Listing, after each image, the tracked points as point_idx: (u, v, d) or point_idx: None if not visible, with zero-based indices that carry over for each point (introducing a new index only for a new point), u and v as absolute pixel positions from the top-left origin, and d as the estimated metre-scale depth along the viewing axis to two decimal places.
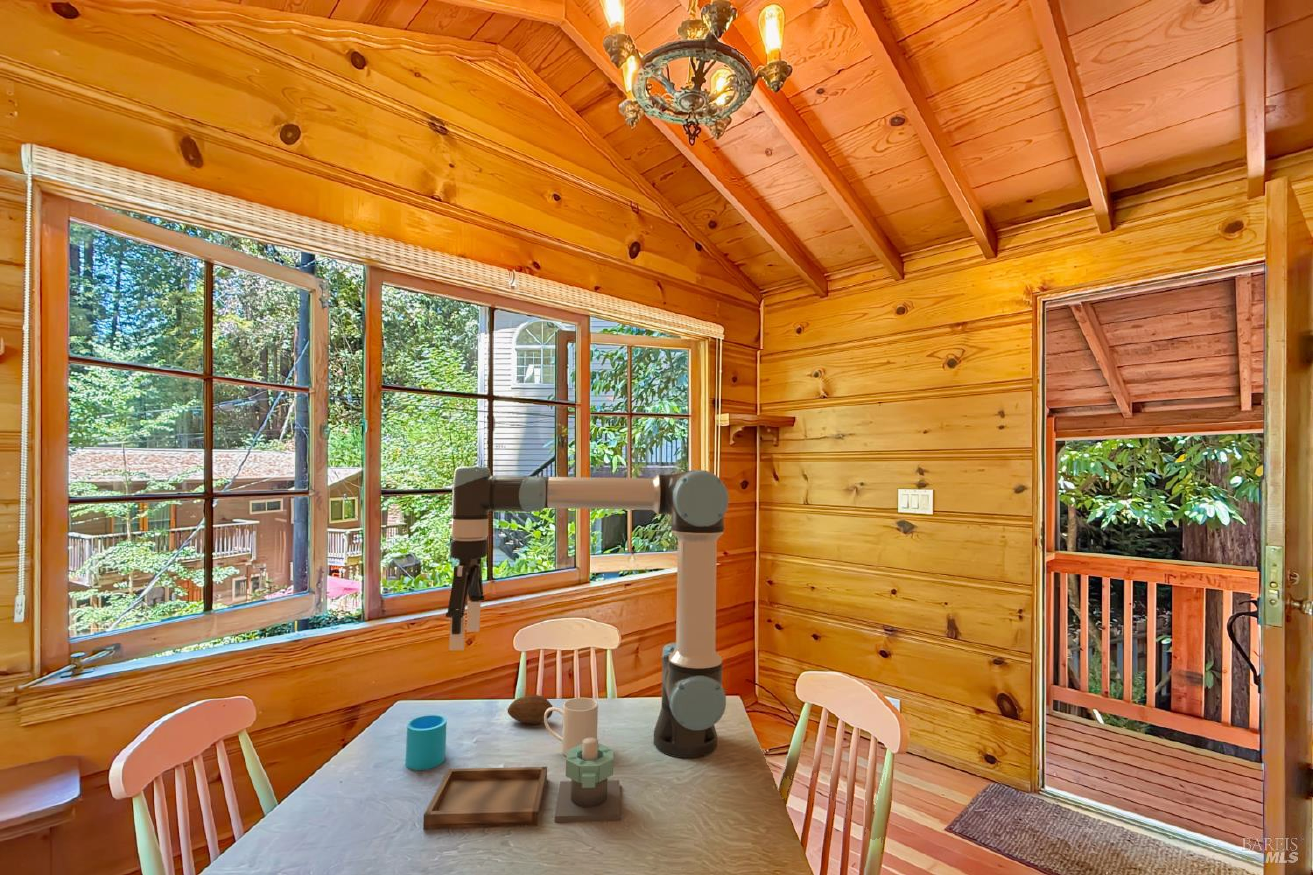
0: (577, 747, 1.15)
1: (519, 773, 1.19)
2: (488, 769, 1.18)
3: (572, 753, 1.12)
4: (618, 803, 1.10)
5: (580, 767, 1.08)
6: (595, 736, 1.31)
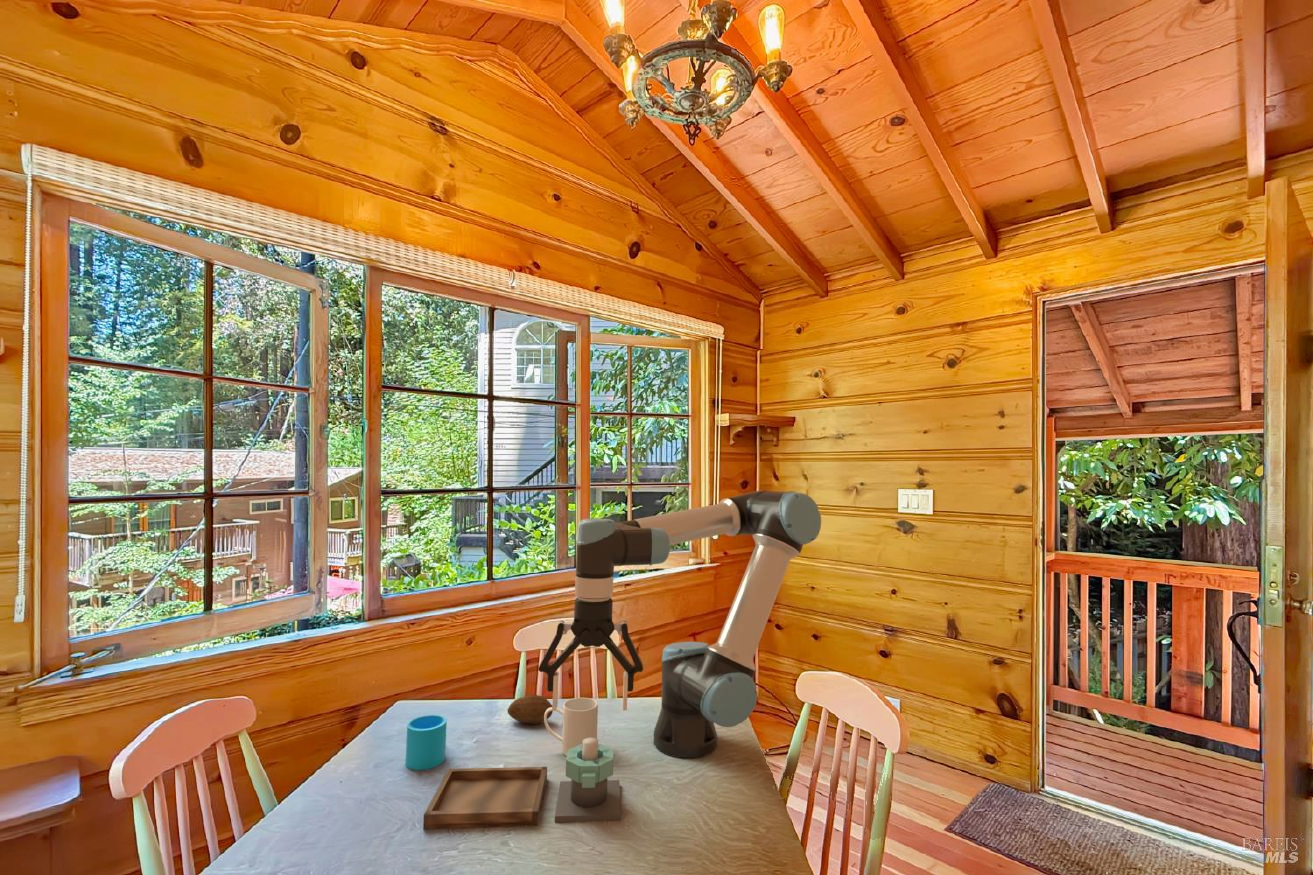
0: (577, 747, 1.15)
1: (519, 773, 1.19)
2: (488, 769, 1.18)
3: (572, 753, 1.12)
4: (618, 803, 1.10)
5: (580, 767, 1.08)
6: (595, 736, 1.31)
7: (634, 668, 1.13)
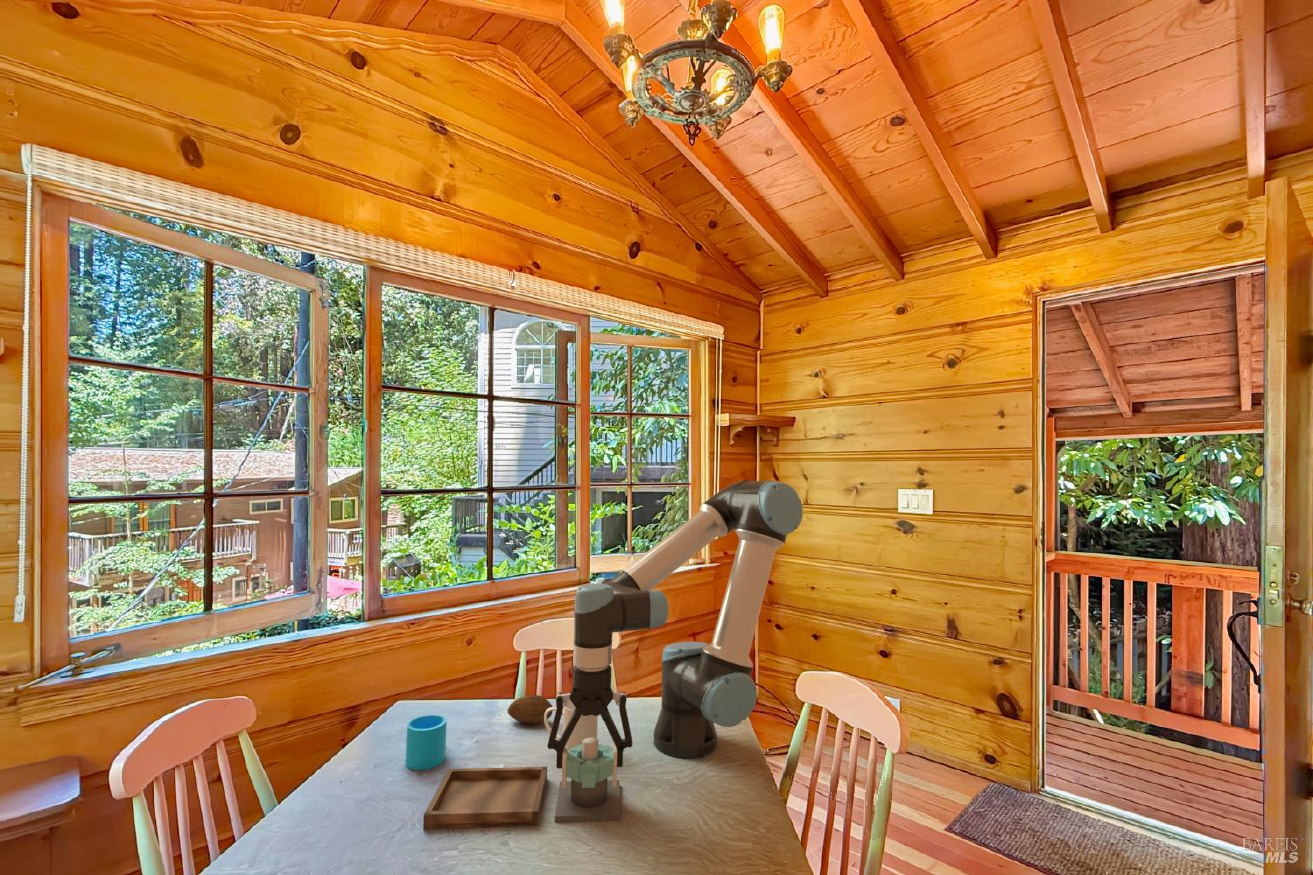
0: (577, 747, 1.15)
1: (519, 773, 1.19)
2: (488, 769, 1.18)
3: (572, 753, 1.12)
4: (618, 803, 1.10)
5: (580, 767, 1.08)
6: (595, 736, 1.31)
7: (623, 743, 1.12)
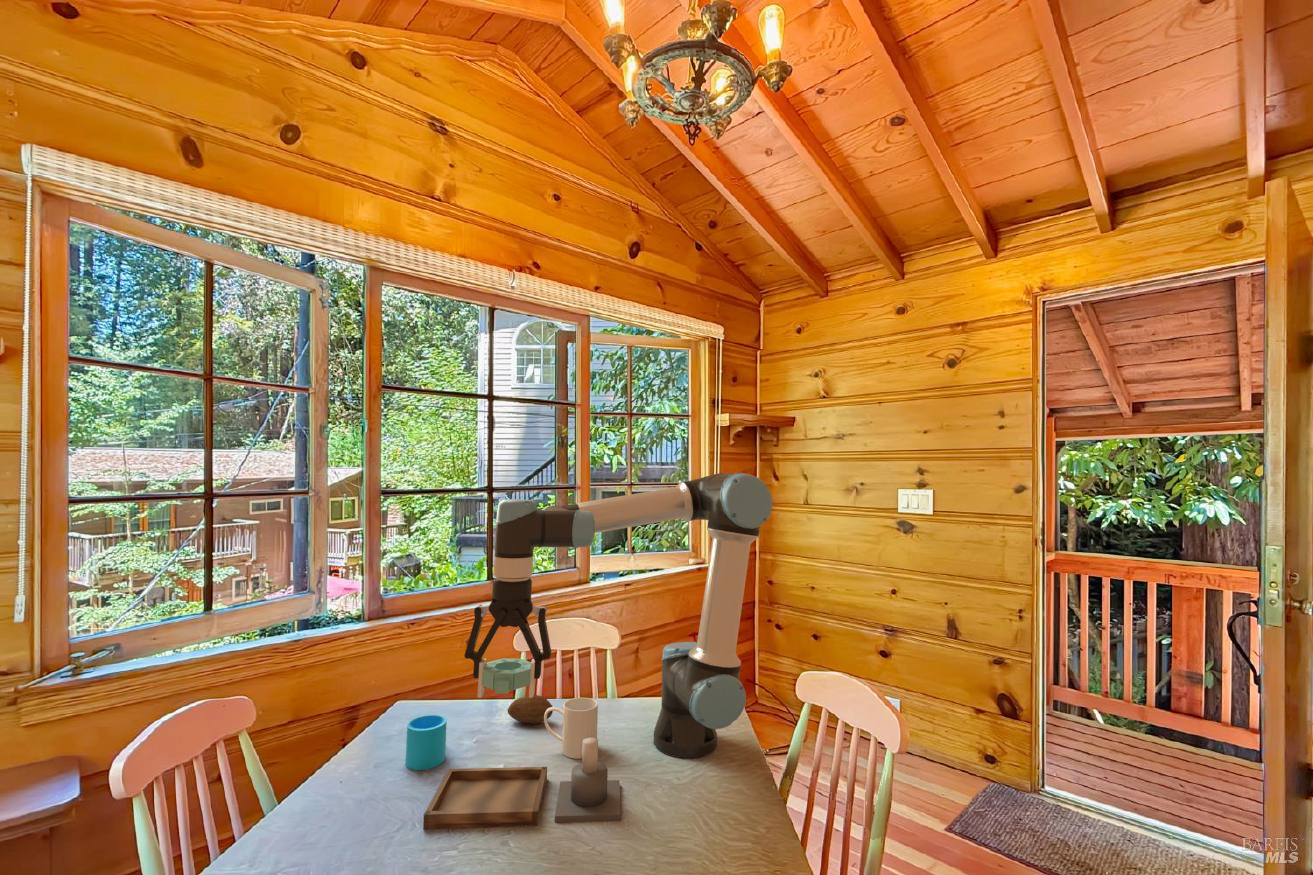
0: (497, 660, 1.15)
1: (519, 773, 1.19)
2: (488, 769, 1.18)
3: (490, 665, 1.13)
4: (618, 803, 1.10)
5: (495, 674, 1.08)
6: (595, 736, 1.31)
7: (541, 655, 1.13)
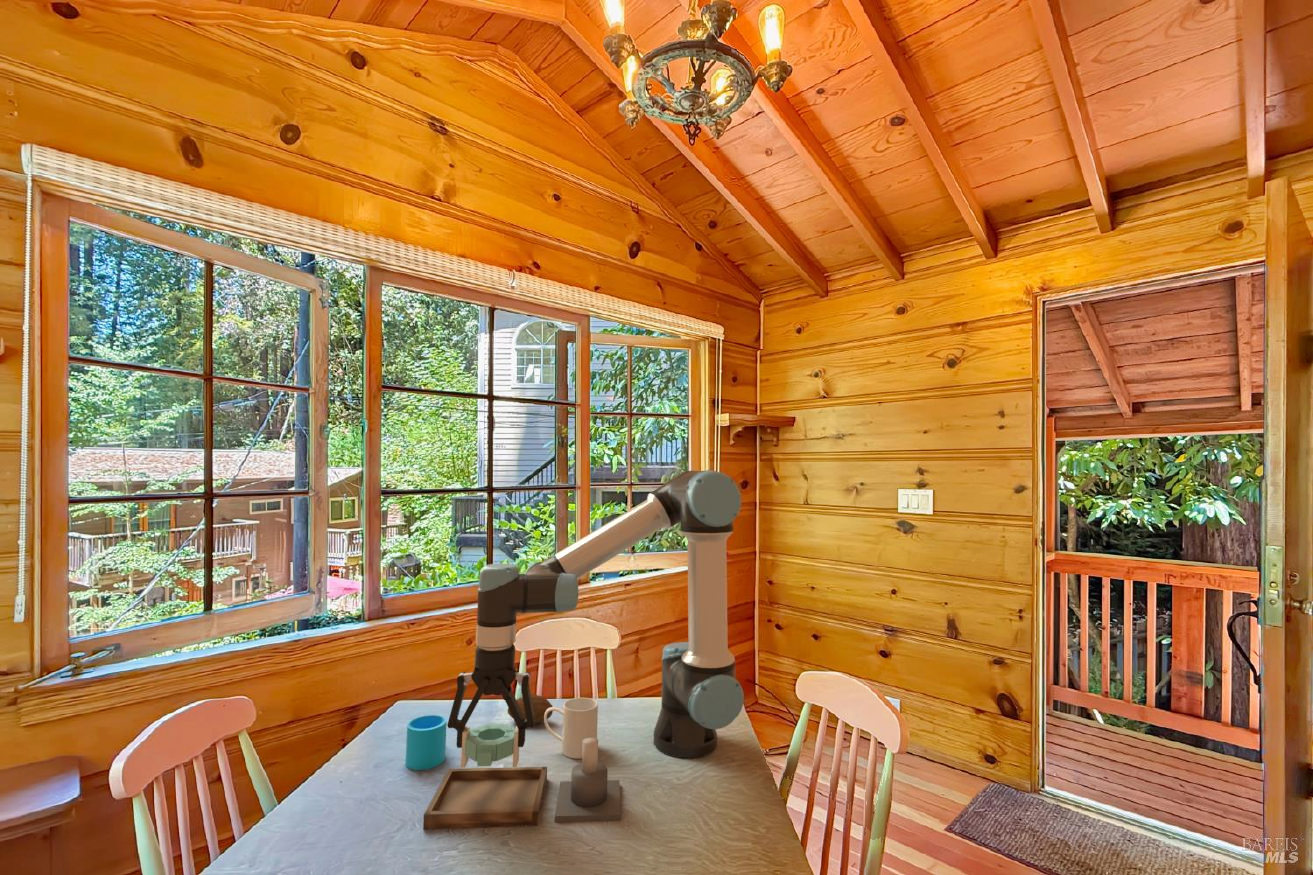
0: (481, 727, 1.15)
1: (519, 773, 1.19)
2: (488, 769, 1.18)
3: (474, 733, 1.12)
4: (618, 803, 1.10)
5: (477, 746, 1.07)
6: (595, 736, 1.31)
7: (525, 723, 1.12)
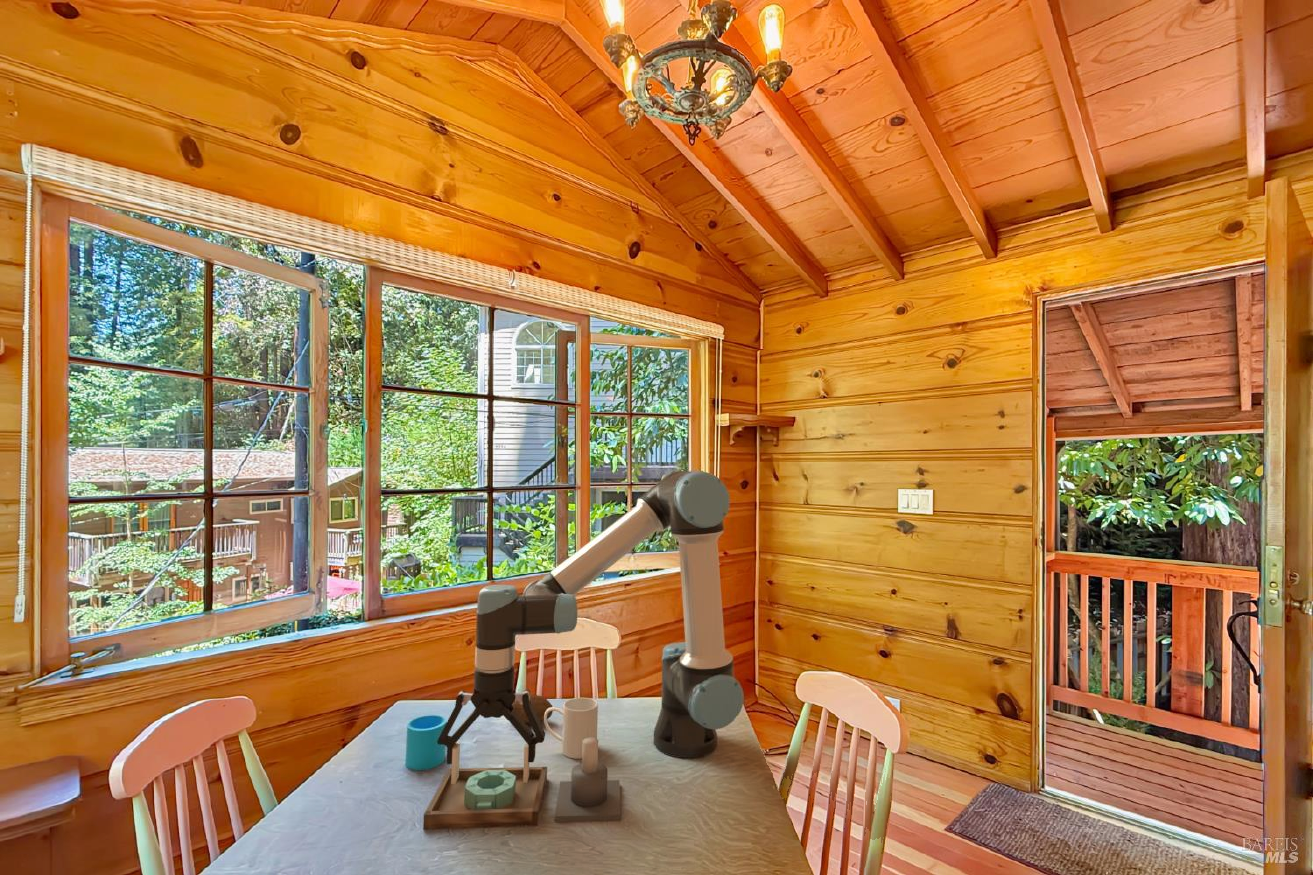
0: (480, 774, 1.14)
1: (519, 773, 1.19)
2: (488, 769, 1.18)
3: (473, 781, 1.11)
4: (618, 803, 1.10)
5: (476, 796, 1.07)
6: (595, 736, 1.31)
7: (535, 739, 1.12)
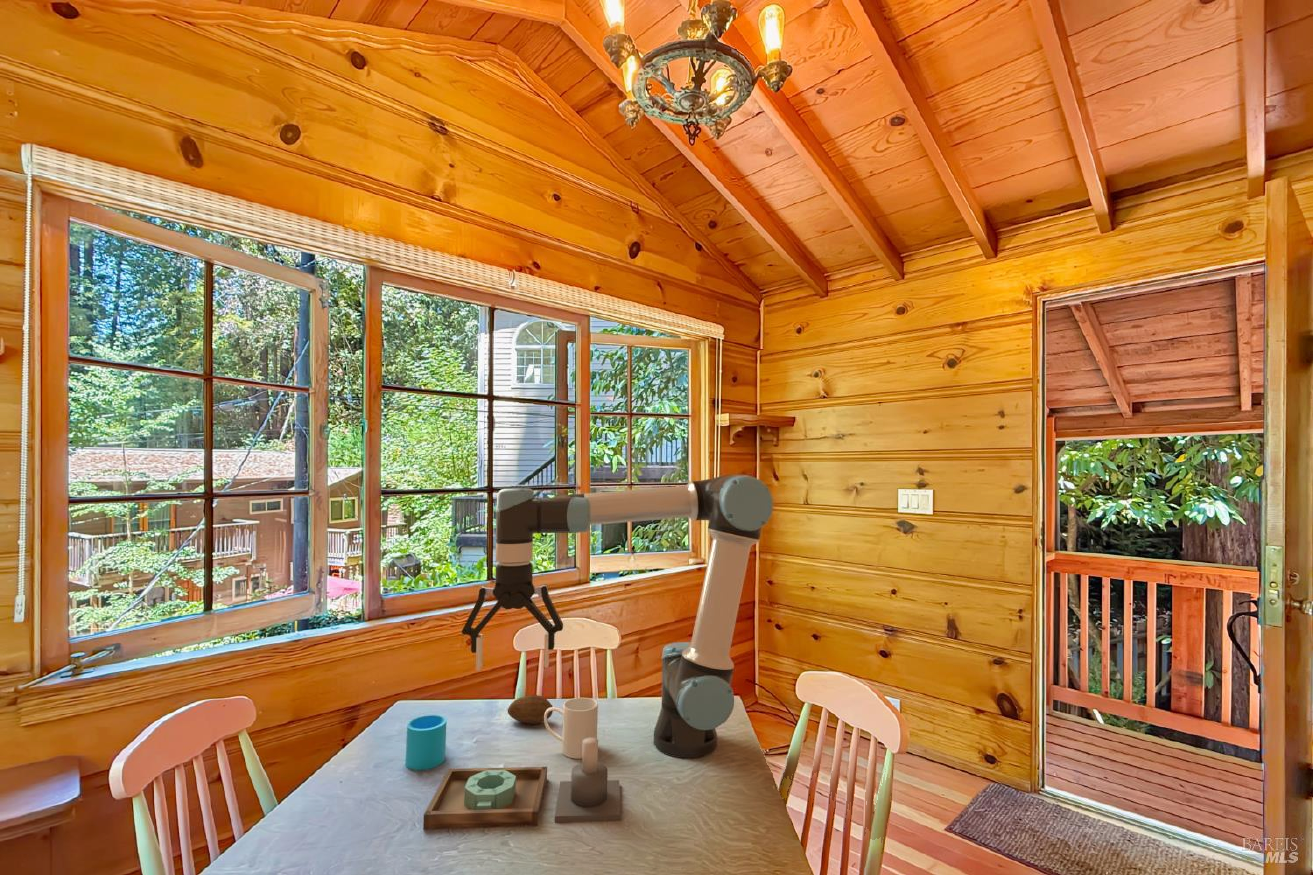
0: (480, 774, 1.14)
1: (519, 773, 1.19)
2: (488, 769, 1.18)
3: (473, 781, 1.11)
4: (618, 803, 1.10)
5: (476, 796, 1.07)
6: (595, 736, 1.31)
7: (554, 628, 1.20)
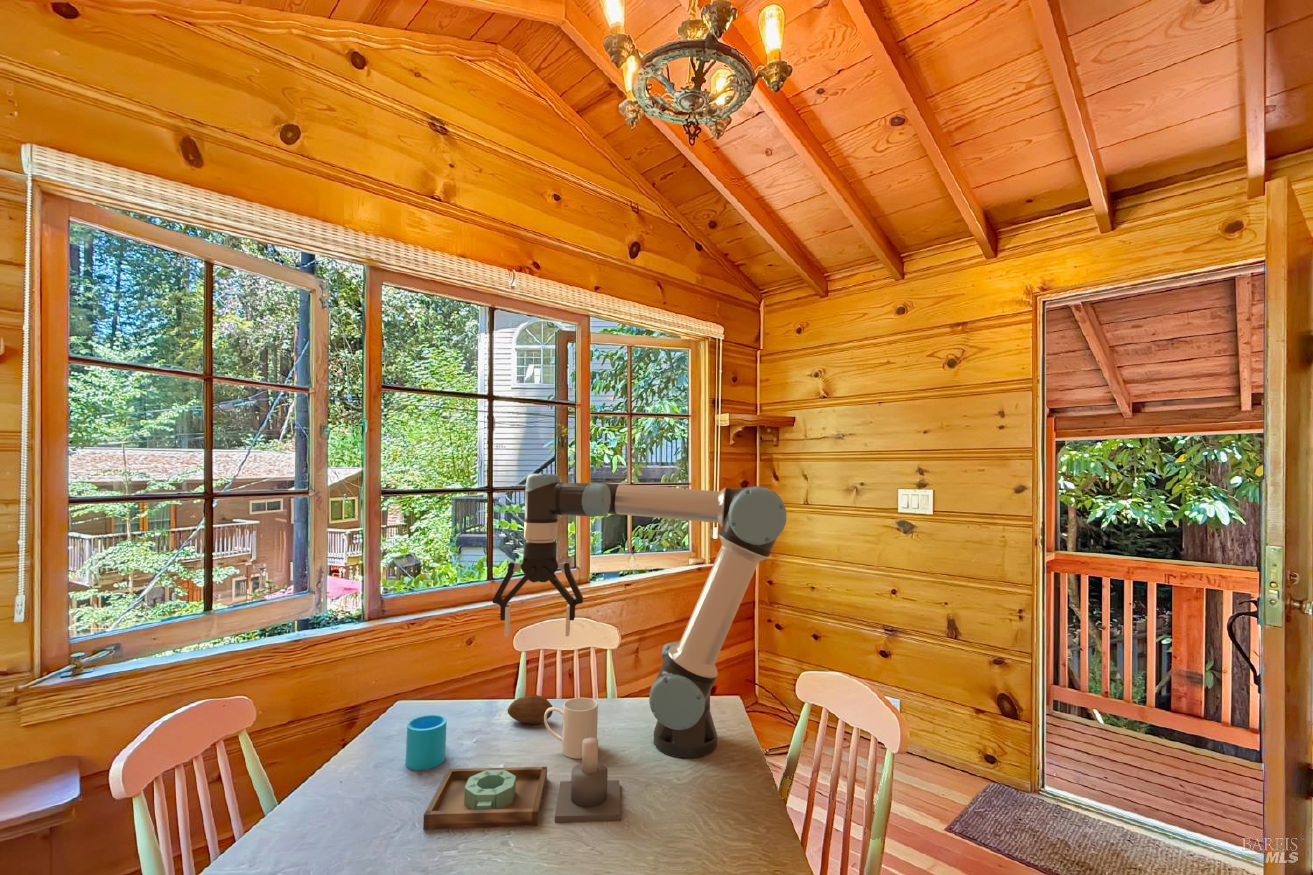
0: (480, 774, 1.14)
1: (519, 773, 1.19)
2: (488, 769, 1.18)
3: (473, 781, 1.11)
4: (618, 803, 1.10)
5: (476, 796, 1.07)
6: (595, 736, 1.31)
7: (575, 600, 1.32)
